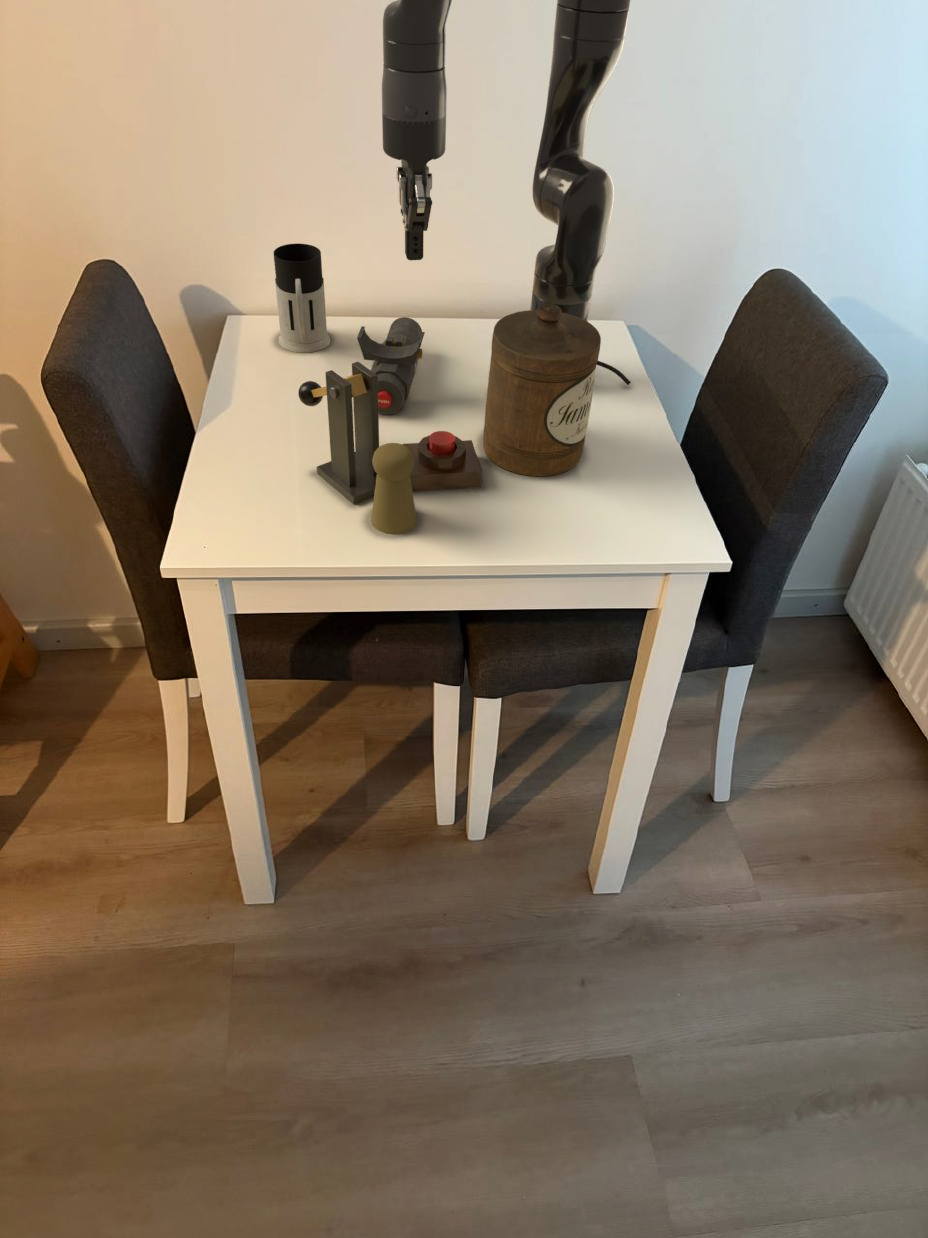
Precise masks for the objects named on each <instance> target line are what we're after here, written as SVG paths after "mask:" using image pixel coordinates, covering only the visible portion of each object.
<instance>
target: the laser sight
mask: <svg viewBox="0 0 928 1238" xmlns="http://www.w3.org/2000/svg"><path fill="white" fill-rule="evenodd" d="M365 329H366V326H364V325H361V327H360V329H359V331H358V334H357V336H356V339H357V343H358V346H359V349H360V351H361V355H362V357H363V360H364V361H372V362H373V363H372V366H371V368H370V370H371V371H372V372H374V373H375V374H377V375H378V414H380V415H385V416H386V415H387V416H388V415H394V414H396V413H397V412H398V411H400V410H401V409H402V407H403V405H404V402H406V401H407V400H408V398H409V395H410V392H411V389H412V384H413V382H414V379H415V374H416V371H417V367H418V364H419V359H423V348H421V347H422V343H423V339H424V338H425V337H424V336H425V333H426V332H425V331H423V329H422V327H421V325H420V324H419V323H418V322H417V320H415V319H413V318H412V317H407V316H402V317H398V318H396V319H394V321H393V322H392V323H391V325H390V327H389V330H388V333H387V336H386V338H385V340H384V341H383V342H382V343H379V342H377V341H376V340H374V339H372V338H371V337H370V336H369V334H368V333H367V331H366V330H365Z"/></svg>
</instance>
